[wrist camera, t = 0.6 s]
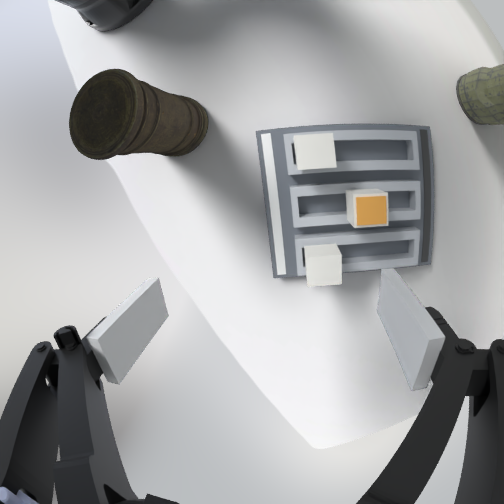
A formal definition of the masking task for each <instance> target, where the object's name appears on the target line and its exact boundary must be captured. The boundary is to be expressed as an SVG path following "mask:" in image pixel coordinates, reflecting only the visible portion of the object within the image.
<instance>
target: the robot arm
mask: <svg viewBox="0 0 504 504" xmlns="http://www.w3.org/2000/svg"><path fill="white" fill-rule="evenodd" d="M55 1H58V2H60V3H63V4H65V5H68V6H70V7H72V8H75V9H76V10H77V11H78V13H79V14H80V15H81V17H82V18H83V19H84V21H85V22H86V23H87V25H89V26H90V27H92V28H94V29H96V30H99V31H109V30H113V29H116V28H118V27H121V26H123V25H124V24H126V23H128V22H129V21H131V20H132V19H134V18H135V17H136V16H138V15H139V14H140V13H141V12H142V11H143V10H144V9H145V8H146V7H147V6H148V5H149V4H150V3H151V1H152V0H55ZM377 312H378V314H379V316H380V319H381V321H382V323H383V325H384V327H385V329H386V332H387V334H388V336H389V338H390V341H391V343H392V345H393V347H394V350H395V352H396V354H397V357H398V359H399V361H400V364H401V366H402V369H403V371H404V374H405V376H406V379H407V381H408V384H409V386H410V389H411V391H414V390H419V389H423V388H427V385H428V383H429V381H430V378H431V380H432V382H433V386H432V388H431V390H430V393H429V395H428V397H427V399H426V401H425V403H424V405H423V407H422V409H421V411H420V412H419V414H418V416H417V418H416V420H415V422H414V423H413V425H412V427H411V429H410V430H409V432H408V434H407V435H406V437H405V439H404V440H403V442H402V443H401V445H400V447H399V448H398V450H397V451H396V453H395V454H394V456H393V457H392V459H391V460H390V462H389V463H388V465H387V466H386V467H385V469H384V470H383V471H382V473H381V474H380V476H379V477H378V478H377V480H376V481H375V482H374V483H373V485H372V486H371V487H370V488H369V489H368V491H367V492H366V493H365V494H364V495H363V496H362V498H361V499H360V500H359V501H358V502H357V503H356V504H414V503H415V501H416V500H417V499H418V497H419V495H420V494H421V492H422V491H423V489H424V487H425V486H426V484H427V482H428V480H429V479H430V477H431V475H432V473H433V471H434V469H435V468H436V466H437V464H438V462H439V460H440V458H441V456H442V454H443V451H444V449H445V447H446V445H447V443H448V440H449V438H450V436H451V433H452V431H453V428H454V426H455V423H456V421H457V418H458V415H459V413H460V410H461V407H462V404H463V401H464V398H465V396H469V420H468V432H467V441H466V449H465V456H464V463H463V468H462V473H461V478H460V483H459V487H458V491H457V495H456V499H455V503H454V504H504V340H502V339H497V340H495V341H493V342H492V344H491V346H490V349H476V347H475V345H474V344H473V343H472V342H471V341H468V340H466V339H461V338H460V339H459V338H458V337H457V335H456V334H455V332H454V331H453V330H452V328H451V327H450V326H449V324H447V322H446V320H445V319H443V316H442V315H441V314H440V313H439V311H437V310H435V309H434V308H432V307H424V306H423V305H422V303H421V302H420V301H419V299H418V298H417V297H416V296H415V294H414V293H413V292H412V290H411V289H410V288H409V287H408V285H407V284H406V283H405V281H404V280H403V279H402V278H401V276H400V275H399V274H398V273H397V272H396V270H395V269H394V268H388V269H381V280H380V290H379V299H378V307H377ZM167 317H168V312H167V308H166V304H165V301H164V297H163V293H162V289H161V285H160V281H159V278H148V279H147V280H146V281H145V282H143V283H142V284H141V285H140V286H139V287H138V288H137V289H136V290H135V291H134V292H133V293H132V294H131V295H130V296H128V297H127V298H126V299H125V300H124V301H123V302H122V303H121V304H120V305H119V306H118V307H117V308H116V309H115V310H114V311H112V312H111V313H110V315H108V316H107V317H105V318H103V319H102V320H101V321H100V322H99V323H98V325H96V326H95V327H94V329H92V330H91V331H90V332H89V333H88V334H87V335H86V336H85V337H84V338H83V339H82V340H81V339H80V337H79V335H78V332H77V330H76V328H75V327H74V326H65V327H62V328H60V329H59V330H57V331H56V332H55V333H54V338H55V340H56V342H57V345H58V347H59V349H56V350H54V349H53V347H52V345H51V343H50V342H47V341H44V342H40V343H38V344H37V345H36V346H35V347H34V348H33V349H32V351H31V353H30V355H29V357H28V359H27V360H26V362H25V365H24V367H23V368H22V370H21V372H20V375H19V377H18V379H17V381H16V383H15V385H14V388H13V390H12V392H11V394H10V397H9V399H8V402H7V404H6V406H5V409H4V411H3V414H2V416H1V419H0V504H52V498H53V488H54V483H55V490H56V495H57V501H58V504H179V503H177V502H174V501H170V500H167V499H163V498H160V497H157V496H153V495H150V494H147V495H146V498H145V499H138V497H137V496H136V495H135V493H134V492H133V491H132V489H131V487H130V484H129V482H128V479H127V477H126V473H125V471H124V468H123V465H122V461H121V459H120V455H119V452H118V448H117V446H116V442H115V438H114V434H113V431H112V427H111V422H110V418H109V414H108V409H107V404H106V400H105V394H104V389H103V383H102V381H101V379H100V376H101V375H102V374H104V375H105V377H106V379H107V381H108V382H111V383H115V384H120V383H121V382H122V380H123V379H124V377H125V376H126V374H127V373H128V372H129V370H130V369H131V367H132V366H133V364H134V363H135V362H136V360H137V359H138V357H139V356H140V355H141V353H142V352H143V350H144V349H145V348H146V346H147V345H148V344H149V342H150V341H151V339H152V338H153V337H154V335H155V334H156V332H157V331H158V330H159V328H160V327H161V325H162V324H163V323H164V321H165V320H166V319H167ZM46 379H47V380H48V382H49V384H48V386H47V384H46ZM58 446H59V448H60V457H61V458H60V461H57V462H56V460H57V453H58Z"/></svg>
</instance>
